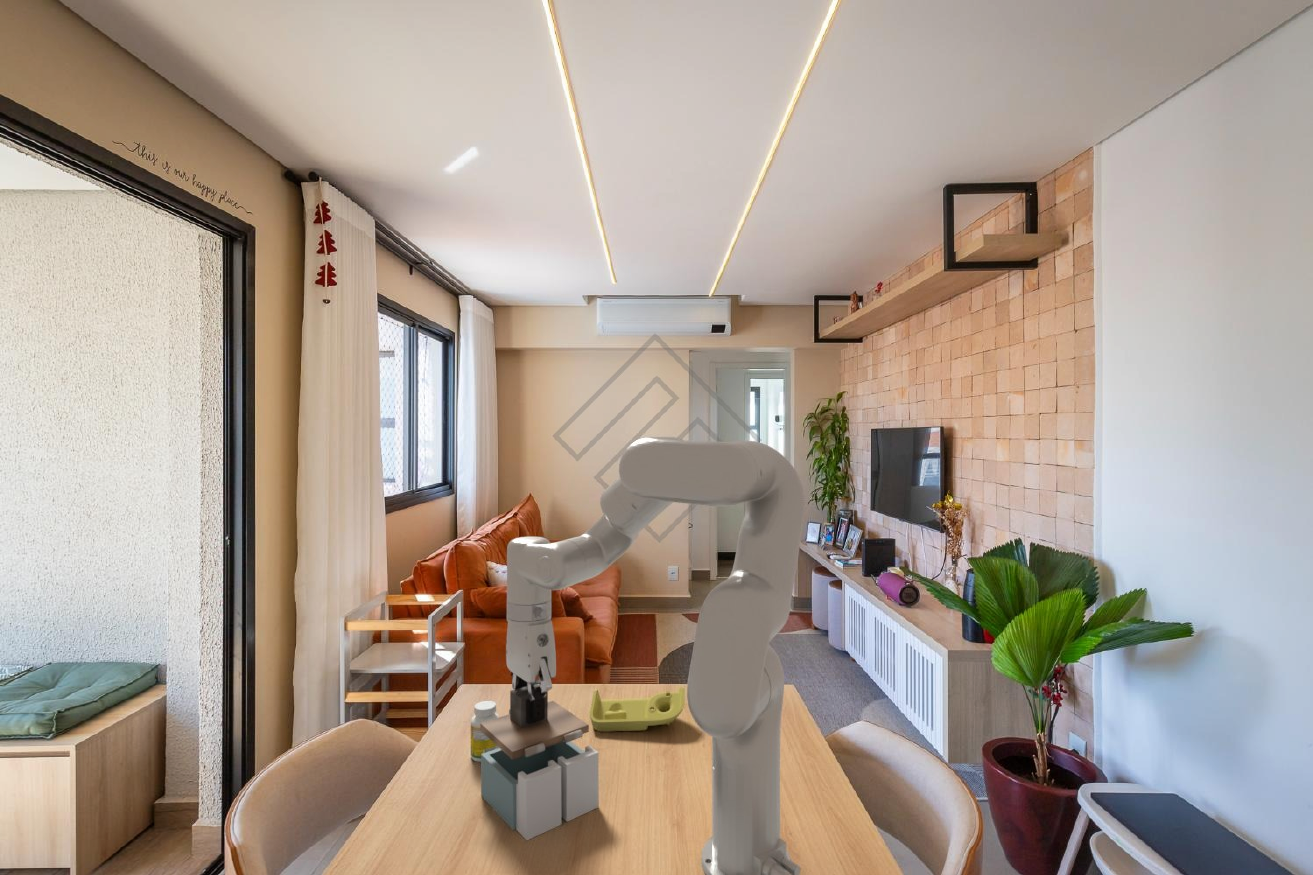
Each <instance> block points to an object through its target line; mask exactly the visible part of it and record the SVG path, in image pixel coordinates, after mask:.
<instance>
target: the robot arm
mask: <svg viewBox="0 0 1313 875" xmlns="http://www.w3.org/2000/svg"><path fill="white" fill-rule="evenodd" d="M618 466H619V467H618V473H619V477H618V478H617V479H615V480H614V481H613V483H611V484H610V485H609V486H608V487H607V488H606V489H605V490H604V491H603V492H602V494H601V496H600V499H599V500H600V501H599V502H600V508H601V510H602V513H603V515H602V516H601V517H600V518H599V519H598V521H597V522H595V523H594V524H593V525H591V527H589V528H588V529H587V530H586V531H585V532H584V533H583V534H581V535H580V536H575V537H571V538H567V539H563V540H560V541H556V542H551V541H550V540H549V539H547V538H545V537H543V536H520V537H515V538H513V539H511V540H510V541H509V542H508V543H507V547H506V622H507V629H506V631H507V632H506V643H505V644H506V645H505V659H506V666H507V669H508V670H509V671H510V676H511V679H512V683H511V687H512V690H515V689H518V688H522V687H525V686H528V697H529V699H528V700H526V723H528V724H532V723H535V722H538V721H541V720H544V718H545V697H546V693H547V692H548V693H549V691H550V690H552V689H553V683H552V680H551V679H555V678H556V675H557V657H556V656H557V655H556V642H555V641H556V640H555V633H554V627H553V621H552V620H551V619H552V591H559V590H564V589H566V588H569V587H572V586H574V585H577V584H580V583H582V582H584V581H588V580H590V579H591V580H592V579H594V578H595V577H597V576H598V575H600V574H602V573H603V572H604V571H606V570H607V569H608V568H609V567H610V566H612V565H613V564H614V563H615V562H616V561H617V560H618V559H620V558H621V557H622V556H623V555H624V554H625V553H626V552H627V551H628V550H629V549H630V548H631V547H632V545H633V544H634V543H635V541H636V540H637V539H638V536H639V534H640V532H641V531H642V530H644V529H645V528H646V527H647V526H648V525H649V524H650V523H652V521H653V520H655V519H656V518H657V517H658V516H659V515H660V514H661V513H663V512H664V511H665V510H666V509H667V508H668V507H669V506H670V505H672V504H673V503H678V504H680V503H681V504H689V505H700V506H705V507H706V506H707V507H731V506H736V505H740V504H742V503H744V504H745V514H744V517H743V519H742V523H741V525H740V529H739V533H738V538H737V543H736V552H735V557H734V563H733V566H732V570H731V572H730V575H729V577H728V578H726V579H725V580H723V581H722V582H719V584H717V585H716V586H715V587H713V588H712V589H711V590H710V592H709V593H708V594H707V596H706V597H705V599H704V601H703V604H702V605H701V608H700V611H699V615H698V617H697V618H698V619H697V624H696V629H695V634H694V635H695V636H694V642H693V647H692V653H691V657H690V658H691V659H690V665H689V671H688V672H689V673H688V677H687V684H686V686H687V687H686V697H687V698H686V699H687V700H686V701H687V705H688V709H689V712H690V715H691V716H692V719H693V721H694V722H695V723H696V725H697V726H698V727H699V729H701V731H703V732H704V733H705V734H707V735H708V736H711V737H712V740H711V741H712V743H711V744H712V745H711V746H712V747H711V748H712V749H711V750H712V752H711V754H712V756H711V765H712V768H711V769H712V771H711V772H712V773H711V774H712V776H711V777H712V778H711V782H712V783H711V784H712V788H711V789H712V792H711V793H712V794H711V795H712V796H711V797H712V809H711V810H712V813H711V814H712V815H711V816H712V818H711V819H712V820H711V823H712V824H711V825H712V827H711V828H712V832H711V833H712V835H711V837H709V838H708V840H707V841H705V842H704V843H705V844H704V845H702V846H703V847H702V849H701V850H702V851H701V867H702V870H703V873H704V874H705V875H800V874H801V870H802V867H801V866H800V865H798V864H797V863H795V862H794V861H792V858H791V855H790V852H788V850H787V841H785V840H784V839H782V838H781V728H782V726H781V725H782V724H781V723H782V711H783V705H784V704H783V703H784V702H783V701H784V695H785V694H784V693H785V675H784V669H783V665H782V662H781V659H780V657H779V655H778V653H777V652H776V650H775V649H774V648H773V647H772V646H771V644H770V642H771V640H773V638H774V637H775V636H777V635H778V634H779V632H780V631H782V629H783V627H784V626H785V625H786V624H787V622H788V620H789V617H790V612H791V605H792V597H793V592H794V585H795V579H796V575H797V574H796V573H797V567H798V561H799V552H800V547H801V542H802V536H803V535H802V534H803V530H804V522H805V510H806V507H805V506H806V502H805V501H806V500H805V499H806V498H805V491H804V488H803V484H802V480H801V478H800V477H799V475H798V472H797V471H796V468H795V467H794V466H793V465H792V463H791V462H790V461H789V460H788V459H787V458H786V457H785V456H784V455H783V454H782V453H780V452H779V451H778V450H777V449H775V448H774V447H772V446H769V445H768V444H765V443H763V442H758V441H754V440H753V441H752V440H736V441H734V440H733V441H730V440H729V441H709V440H706V441H705V440H702V441H701V440H684V439H682V438H679V437H674V436H649V437H648V436H647V437H646V436H645V437H642V438H639V439H637V440H635V441H634V442H632V443H631V444H630V445H629V446H627V448H626V449H625V450H624V451H623V453H622V454H621V457H620V460H619V464H618ZM536 677H537V678H536ZM535 684H538V685H540V686H539V687H536V689H535V690H534V685H535Z"/></svg>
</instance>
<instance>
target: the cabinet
mask: <svg viewBox="0 0 1313 875" xmlns="http://www.w3.org/2000/svg"><path fill="white" fill-rule="evenodd" d="M480 765H481V766H480V780H481V781H480V785H481V786H480V788H481V789H480V792H481V794H480V796H481V797H482V798H483V800H485V802H486V803H488V805H489V806H490V807H491V808H492V809H493V810H494V811H495V812H496V813H497V815H498V816H499V817H500V818H501V819H502V820H503V821H504V822H505V823H506V824H507V825H508V827H509V828H510V829H511V830H512V831H518V833H519V835H521V836H522V837H523V838H524V840H526V841H529V840H531V839H533V838H535V837H537V836H539V835H541V834H543V833H544V834H545V833H546V832H548V831H550V830H553V829H555V828H557V827H559V826H561V825H562V819H563V820H565V822H570V821H571V820H574V819H576V818H578V817H580V816H582V815H584V814H587V813H589V812H591V811H593V810H595V809H598V808H599V807H600V806H599V804H600V803H599V798H600V797H599V796H600V794H599V780H600V779H599V775H600V774H599V751H597V750H596V749H594V748H593V747H592V746H590V745H587V746H584V750H583V749H582V748H580V747H579V746H578V745H576V744H575V743H574V742H572V741H570V742H567V743H565V742H564V741H562V742H560V743H557V744H554V745H551V746H549V747H546V748H545V751H543V752H540V753H537V754H534V755H532V756H529V757H526V756H525V755H524V756H521V757H518V758H516V759H513V760H512V759H511V758H510V757H509V756H508V755H507V754H506V753H505V752H503V751H502V750H501V749H500V748H498V749H495V750H492V751H489V752H486V753H483V754H481V762H480Z"/></svg>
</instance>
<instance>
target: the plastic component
mask: <svg viewBox="0 0 1313 875" xmlns="http://www.w3.org/2000/svg"><path fill="white" fill-rule="evenodd" d="M685 702H686V687H685V686H680V687H679V688H678V689H677V690H676V691H666V692H658V693H655V694H654V695H652V696H650V697H645V698H644V697H642V698H641V697H639V698H637V697H635V698H621V699H620V698H615V699H614V698H612V699H611V698H610V699H607V698H606V699H601V696H600V693H599V689H594V690H593V694H592V699H591V706H590V710H589V716H590V722H591V725H592V727H593V729H594V730H596V731H598V732H627V731H628V732H630V731H631V732H632V731H633V732H634V731H646V730H648V727H649V726H659V725H662V726H665V725H667V726H670V724H671V723H674V720H675V719H677V718H678V717H679V716H680V715H681V714H682V712H683V709H684V707H685Z"/></svg>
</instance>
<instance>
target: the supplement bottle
mask: <svg viewBox="0 0 1313 875" xmlns="http://www.w3.org/2000/svg"><path fill="white" fill-rule="evenodd" d="M496 711H497V703H496V702H495V701H493V700H484V701H483V700H482V701H479V702H477V703H476V704H474V711H473V712H474V715H473V716H472V717H471V720H470V757H471V759H472V760H473V761H474V762H478V763H481V754H483V753H486V752H489V751H492V750H495V749H498V748H499V747H498V746H497V745H496V744H495V743H494V742H493V741H491V740H490V739H489V738H488V737H487V736H486V735H485V734H484V733H483V732H482V731H481V730H480V723H483V722H486V721H489V720H492V719H496V718H499V717H500V716H499V714H498V713H497V712H496Z"/></svg>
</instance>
